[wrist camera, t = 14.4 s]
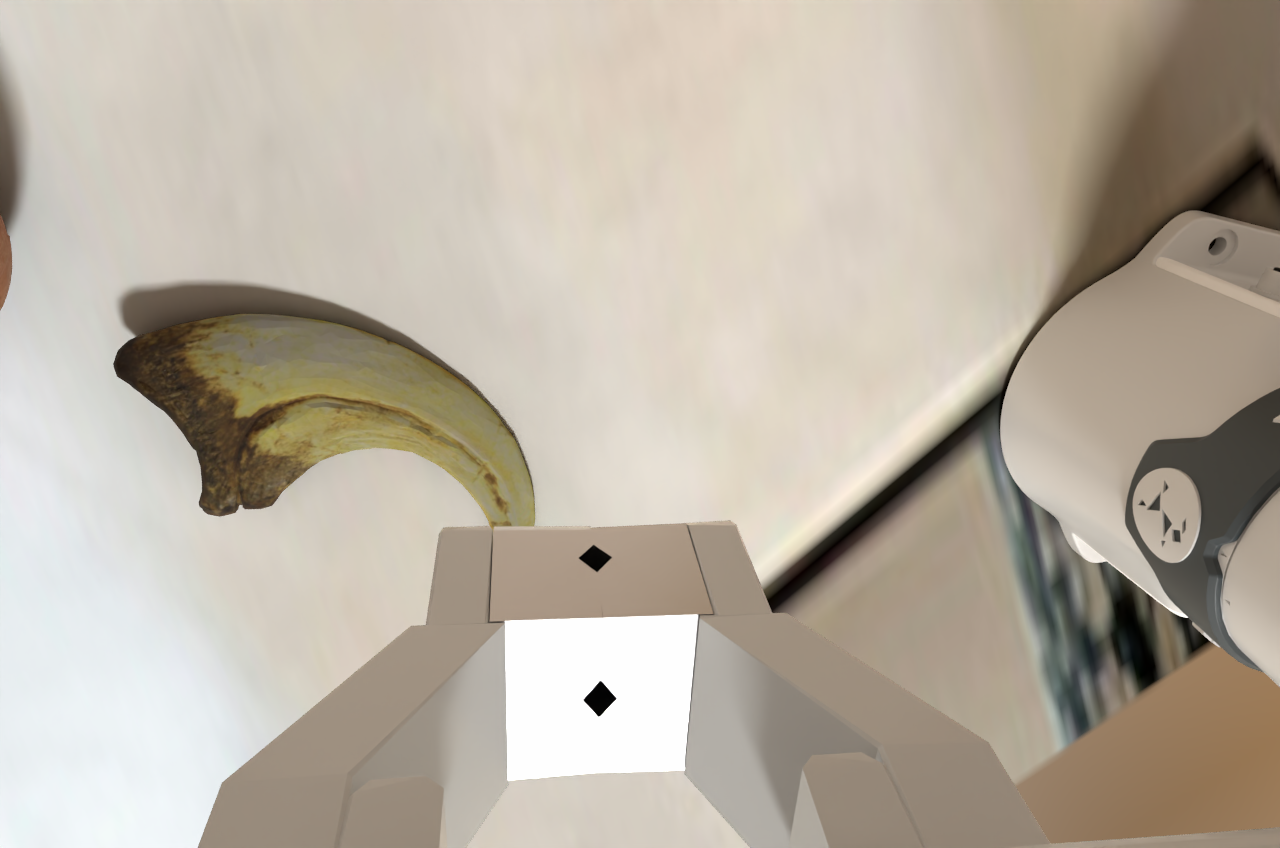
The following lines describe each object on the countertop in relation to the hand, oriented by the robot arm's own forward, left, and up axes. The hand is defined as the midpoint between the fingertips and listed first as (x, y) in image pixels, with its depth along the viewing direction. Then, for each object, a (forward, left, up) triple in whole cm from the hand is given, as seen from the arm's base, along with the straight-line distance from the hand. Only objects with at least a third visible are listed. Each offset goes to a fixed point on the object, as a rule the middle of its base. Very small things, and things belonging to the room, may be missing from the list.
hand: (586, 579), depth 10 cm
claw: (+8, +14, -32) cm, 36 cm away
